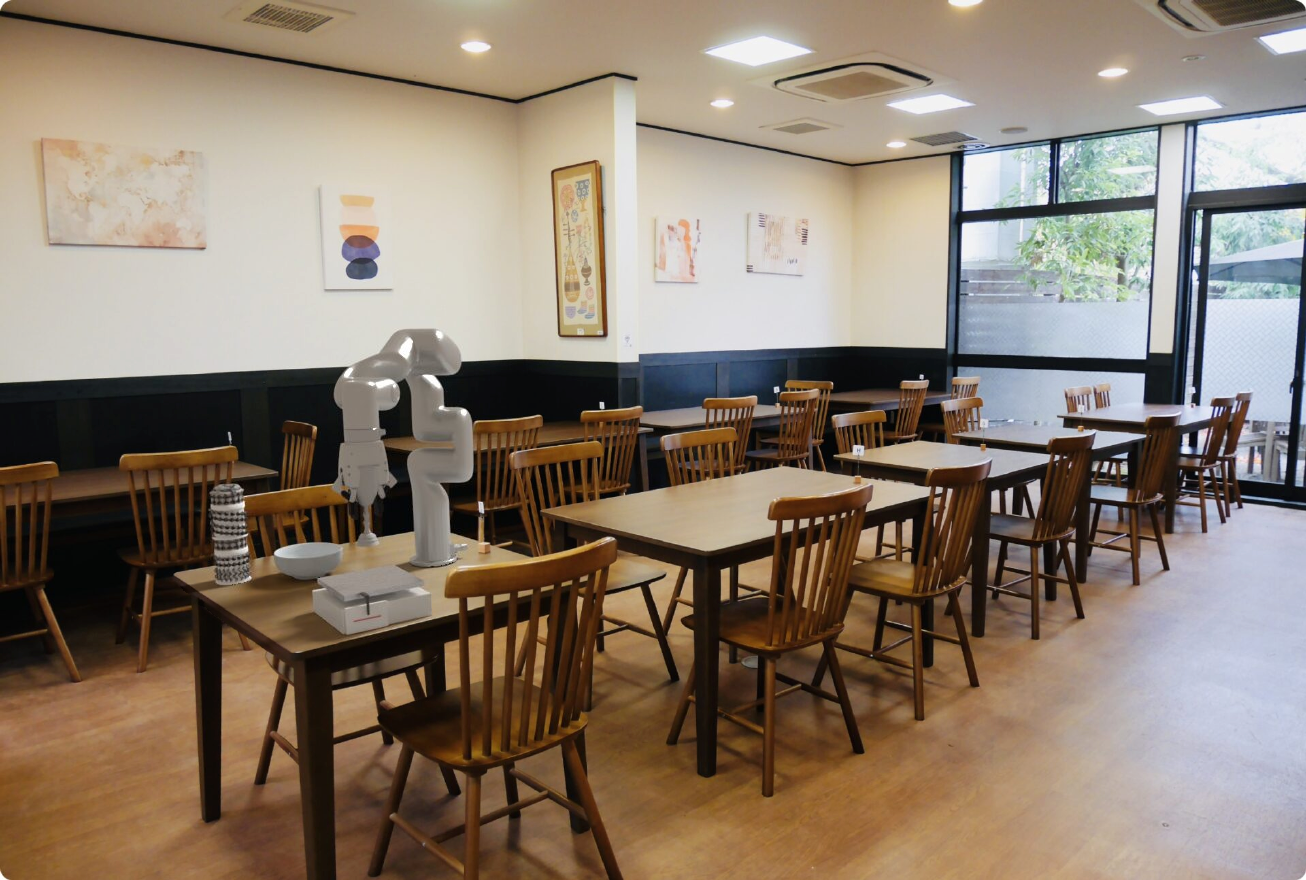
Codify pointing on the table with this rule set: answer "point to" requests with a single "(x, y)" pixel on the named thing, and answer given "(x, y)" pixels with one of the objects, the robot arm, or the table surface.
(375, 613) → the base
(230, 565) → the decorative candle
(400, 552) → the table surface
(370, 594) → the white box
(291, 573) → the cereal bowl
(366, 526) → the chalice
